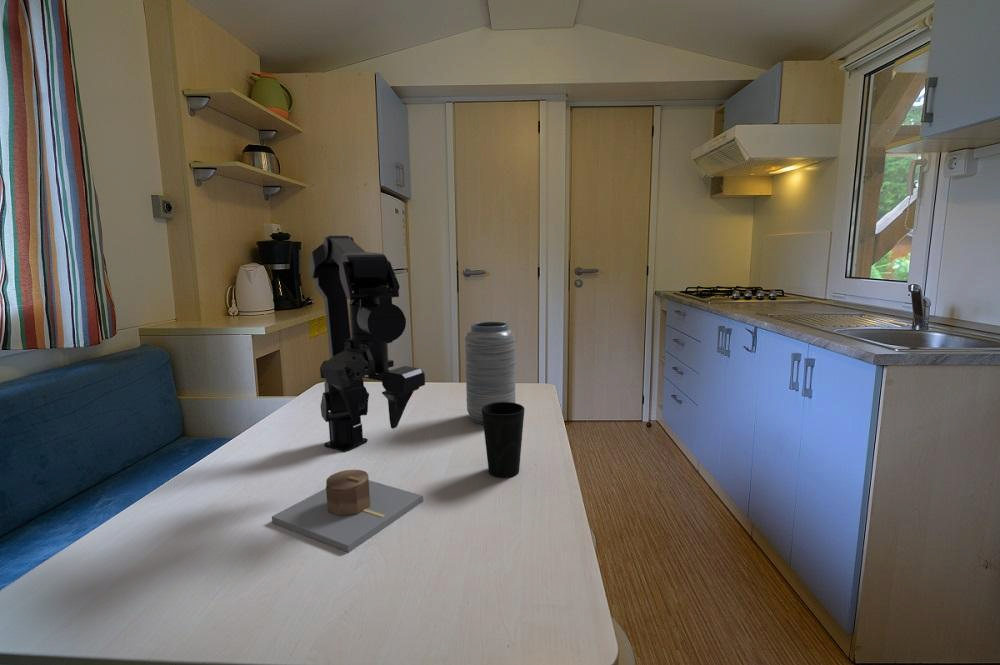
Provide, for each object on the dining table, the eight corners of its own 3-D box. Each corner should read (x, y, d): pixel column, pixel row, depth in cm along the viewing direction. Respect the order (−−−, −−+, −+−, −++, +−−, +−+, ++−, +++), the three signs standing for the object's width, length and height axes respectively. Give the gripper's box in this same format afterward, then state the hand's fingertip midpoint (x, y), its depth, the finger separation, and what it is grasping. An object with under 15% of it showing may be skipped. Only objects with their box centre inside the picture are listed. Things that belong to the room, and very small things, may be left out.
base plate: (272, 522, 77) (269, 497, 76) (351, 480, 90) (350, 459, 90) (348, 552, 69) (346, 524, 68) (423, 501, 82) (422, 478, 82)
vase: (524, 416, 124) (523, 322, 120) (498, 430, 114) (497, 329, 110) (484, 408, 130) (483, 319, 126) (457, 421, 120) (454, 325, 117)
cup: (494, 484, 88) (493, 417, 86) (476, 467, 95) (474, 405, 93) (532, 474, 91) (532, 410, 90) (512, 459, 98) (511, 399, 96)
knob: (319, 509, 78) (317, 480, 77) (350, 492, 84) (348, 465, 83) (348, 519, 75) (346, 488, 74) (378, 500, 80) (376, 472, 80)
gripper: (289, 334, 81) (296, 427, 84) (374, 346, 72) (380, 451, 74) (343, 324, 90) (348, 408, 93) (425, 334, 81) (428, 427, 84)
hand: (373, 422), depth 86 cm, fingers open, 9 cm apart
